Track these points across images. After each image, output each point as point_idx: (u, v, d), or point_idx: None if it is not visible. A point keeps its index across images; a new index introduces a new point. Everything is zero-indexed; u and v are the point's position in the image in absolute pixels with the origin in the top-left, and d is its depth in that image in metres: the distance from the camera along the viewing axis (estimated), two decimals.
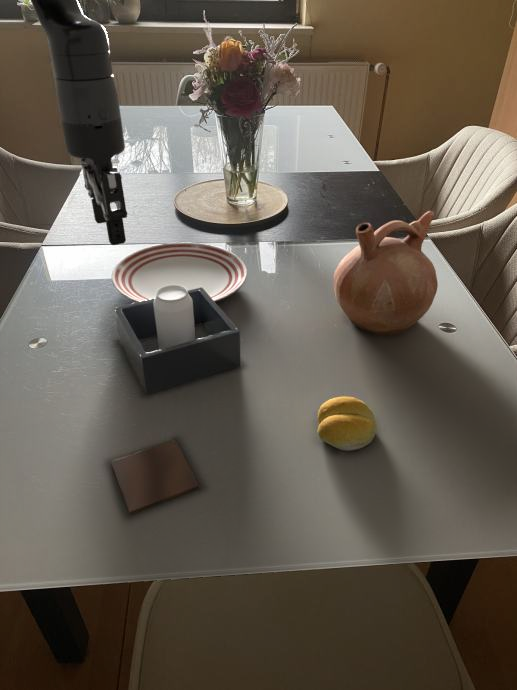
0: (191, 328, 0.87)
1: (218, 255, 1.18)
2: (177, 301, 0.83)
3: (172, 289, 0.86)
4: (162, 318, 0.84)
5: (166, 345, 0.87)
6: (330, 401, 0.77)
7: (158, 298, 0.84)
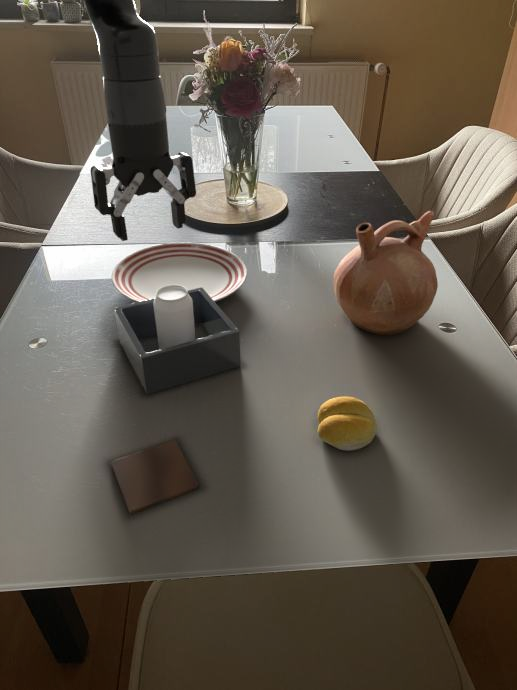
0: (191, 328, 0.87)
1: (218, 255, 1.18)
2: (177, 301, 0.83)
3: (172, 289, 0.86)
4: (162, 318, 0.84)
5: (166, 345, 0.87)
6: (330, 401, 0.77)
7: (158, 298, 0.84)
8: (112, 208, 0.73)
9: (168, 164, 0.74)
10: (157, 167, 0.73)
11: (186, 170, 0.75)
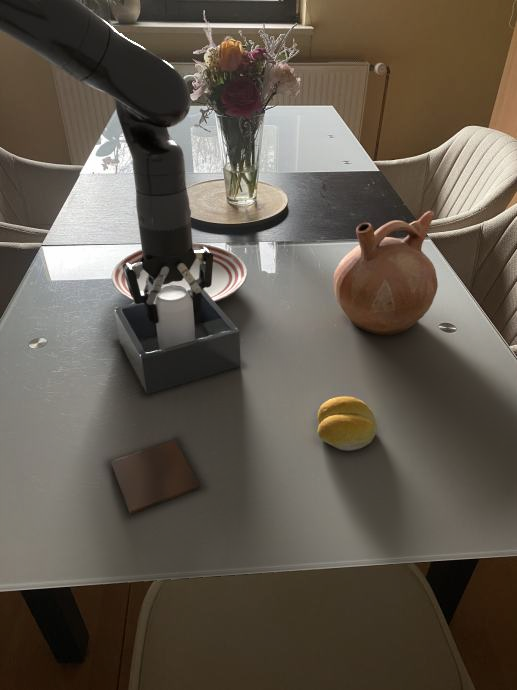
0: (191, 328, 0.87)
1: (218, 255, 1.18)
2: (177, 301, 0.83)
3: (172, 289, 0.86)
4: (162, 318, 0.84)
5: (166, 345, 0.87)
6: (330, 401, 0.77)
7: (158, 298, 0.84)
8: (145, 297, 0.82)
9: (191, 257, 0.82)
10: (182, 260, 0.81)
11: (206, 264, 0.83)
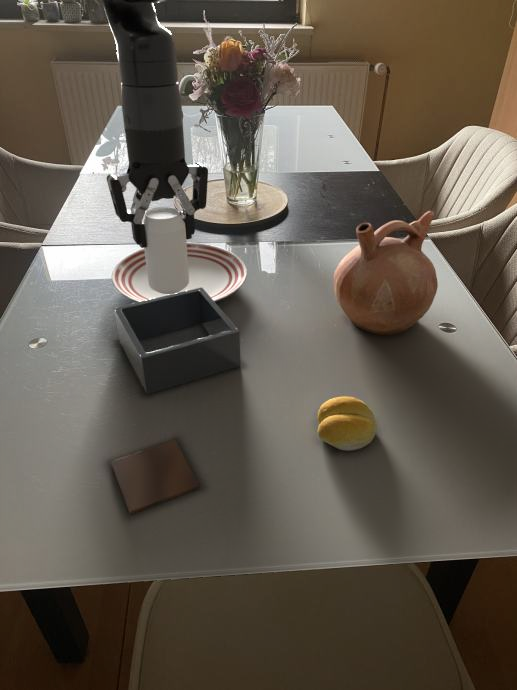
0: (184, 254, 0.79)
1: (218, 255, 1.18)
2: (168, 220, 0.75)
3: (163, 211, 0.77)
4: (151, 240, 0.76)
5: (156, 274, 0.79)
6: (330, 401, 0.77)
7: (147, 218, 0.75)
8: (132, 215, 0.74)
9: (184, 171, 0.73)
10: (173, 173, 0.73)
11: (200, 180, 0.75)
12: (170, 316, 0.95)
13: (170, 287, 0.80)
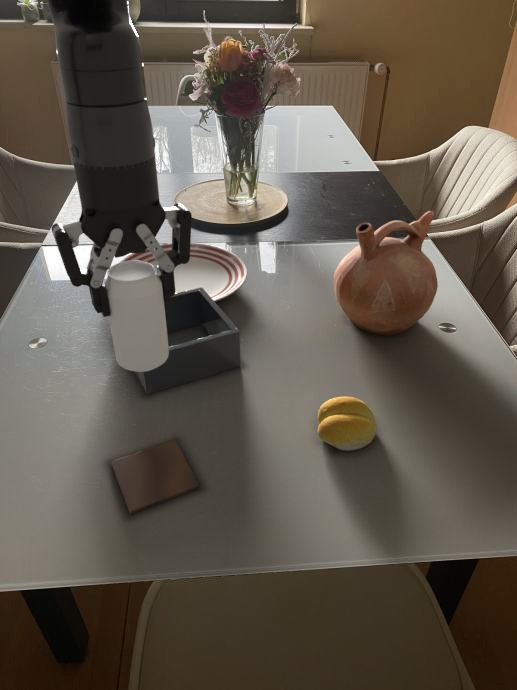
0: (161, 323, 0.59)
1: (218, 255, 1.18)
2: (138, 282, 0.55)
3: (132, 266, 0.58)
4: (116, 308, 0.56)
5: (124, 349, 0.59)
6: (330, 401, 0.77)
7: (109, 278, 0.56)
8: (89, 277, 0.54)
9: (158, 216, 0.54)
10: (143, 221, 0.54)
11: (181, 228, 0.56)
12: (170, 316, 0.95)
13: (143, 365, 0.60)
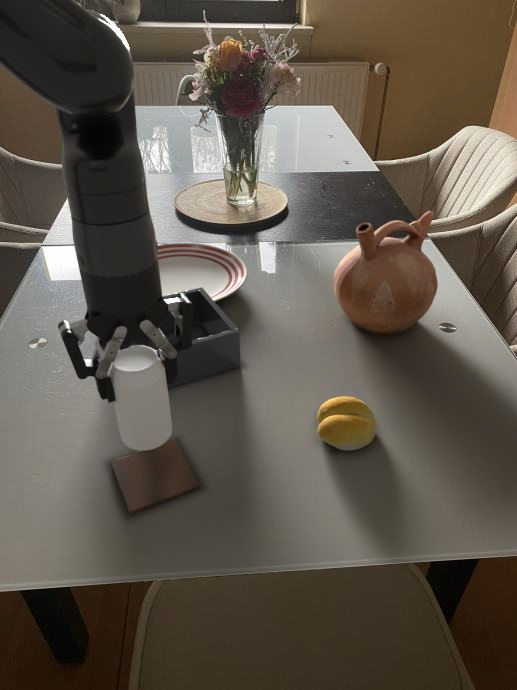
0: (164, 406, 0.61)
1: (218, 255, 1.18)
2: (142, 372, 0.57)
3: (136, 352, 0.60)
4: (120, 395, 0.58)
5: (128, 431, 0.61)
6: (330, 401, 0.77)
7: (114, 368, 0.58)
8: (94, 369, 0.56)
9: (161, 310, 0.56)
10: (147, 316, 0.55)
11: (183, 319, 0.57)
12: (170, 316, 0.95)
13: (147, 445, 0.62)
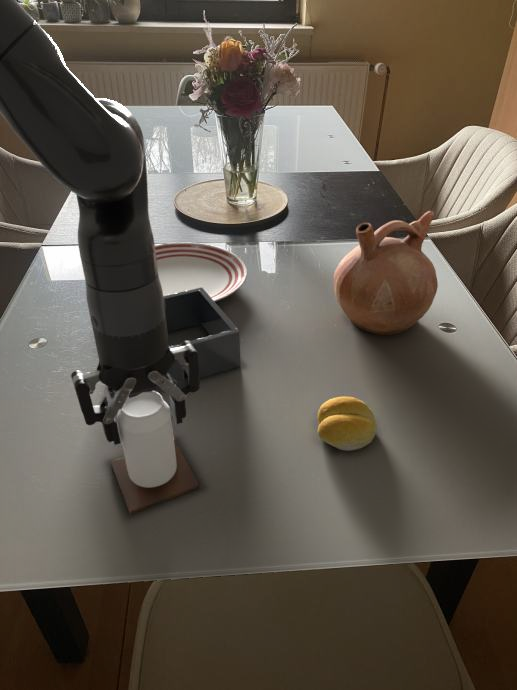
0: (169, 446, 0.65)
1: (218, 255, 1.18)
2: (149, 417, 0.61)
3: (143, 397, 0.64)
4: (129, 439, 0.62)
5: (136, 470, 0.65)
6: (330, 401, 0.77)
7: (123, 413, 0.61)
8: (101, 415, 0.60)
9: (168, 361, 0.59)
10: (154, 366, 0.59)
11: (190, 366, 0.61)
12: (170, 316, 0.95)
13: (153, 483, 0.66)
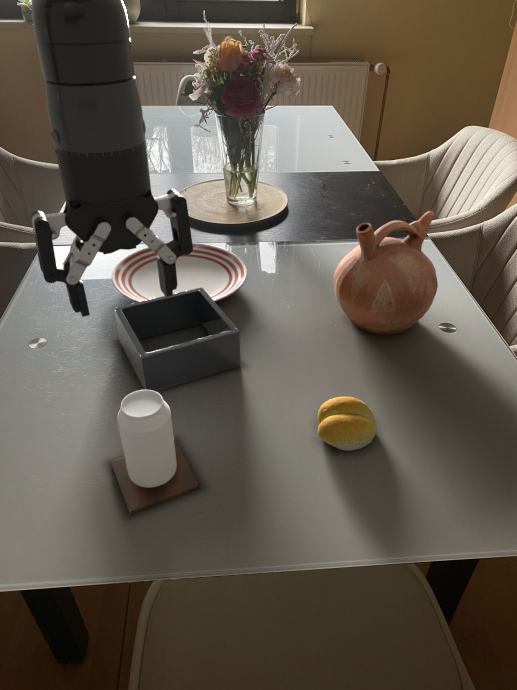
0: (169, 446, 0.65)
1: (218, 255, 1.18)
2: (149, 417, 0.61)
3: (143, 396, 0.64)
4: (129, 438, 0.62)
5: (136, 470, 0.65)
6: (330, 401, 0.77)
7: (123, 413, 0.61)
8: (64, 272, 0.49)
9: (150, 209, 0.49)
10: (133, 213, 0.49)
11: (178, 217, 0.51)
12: (170, 316, 0.95)
13: (153, 483, 0.66)
